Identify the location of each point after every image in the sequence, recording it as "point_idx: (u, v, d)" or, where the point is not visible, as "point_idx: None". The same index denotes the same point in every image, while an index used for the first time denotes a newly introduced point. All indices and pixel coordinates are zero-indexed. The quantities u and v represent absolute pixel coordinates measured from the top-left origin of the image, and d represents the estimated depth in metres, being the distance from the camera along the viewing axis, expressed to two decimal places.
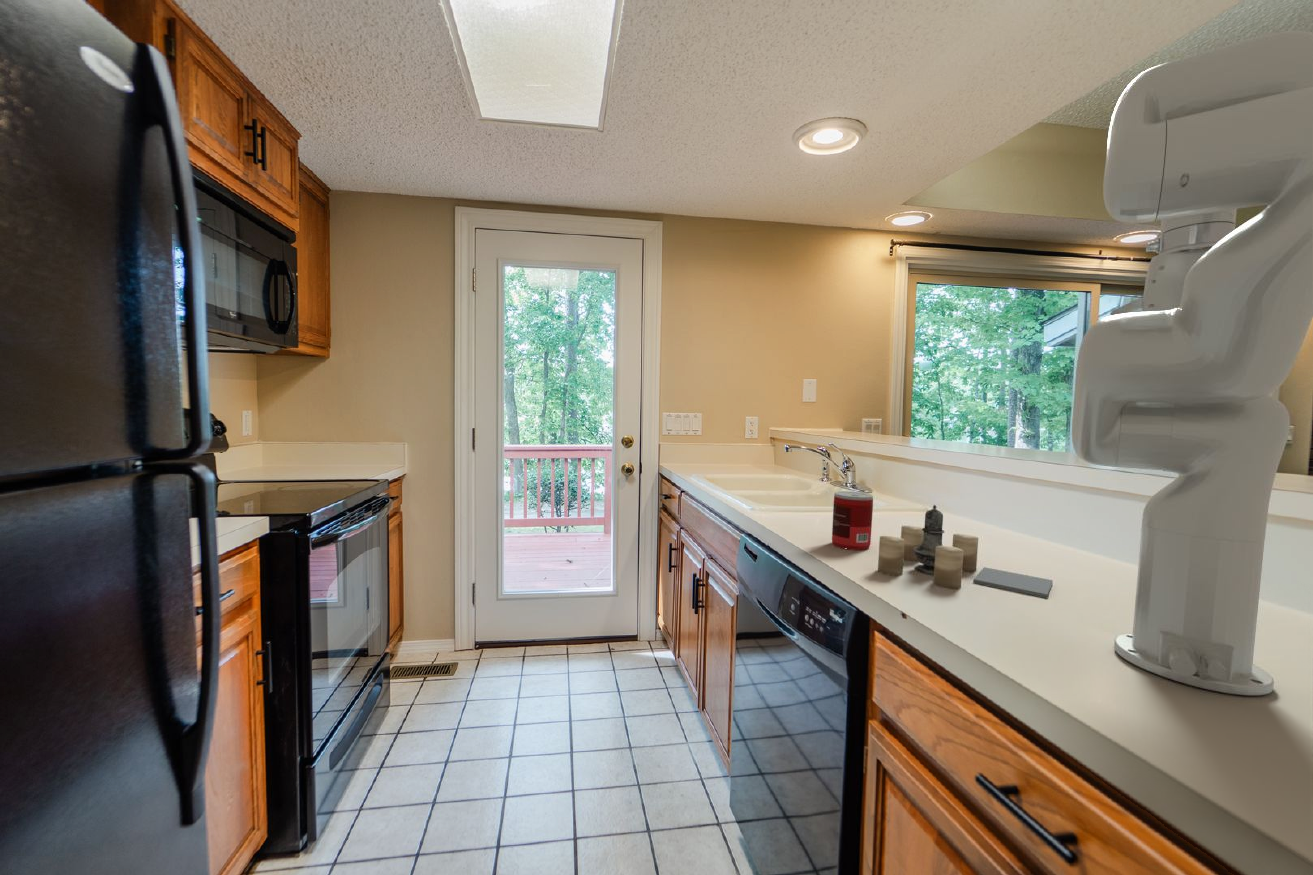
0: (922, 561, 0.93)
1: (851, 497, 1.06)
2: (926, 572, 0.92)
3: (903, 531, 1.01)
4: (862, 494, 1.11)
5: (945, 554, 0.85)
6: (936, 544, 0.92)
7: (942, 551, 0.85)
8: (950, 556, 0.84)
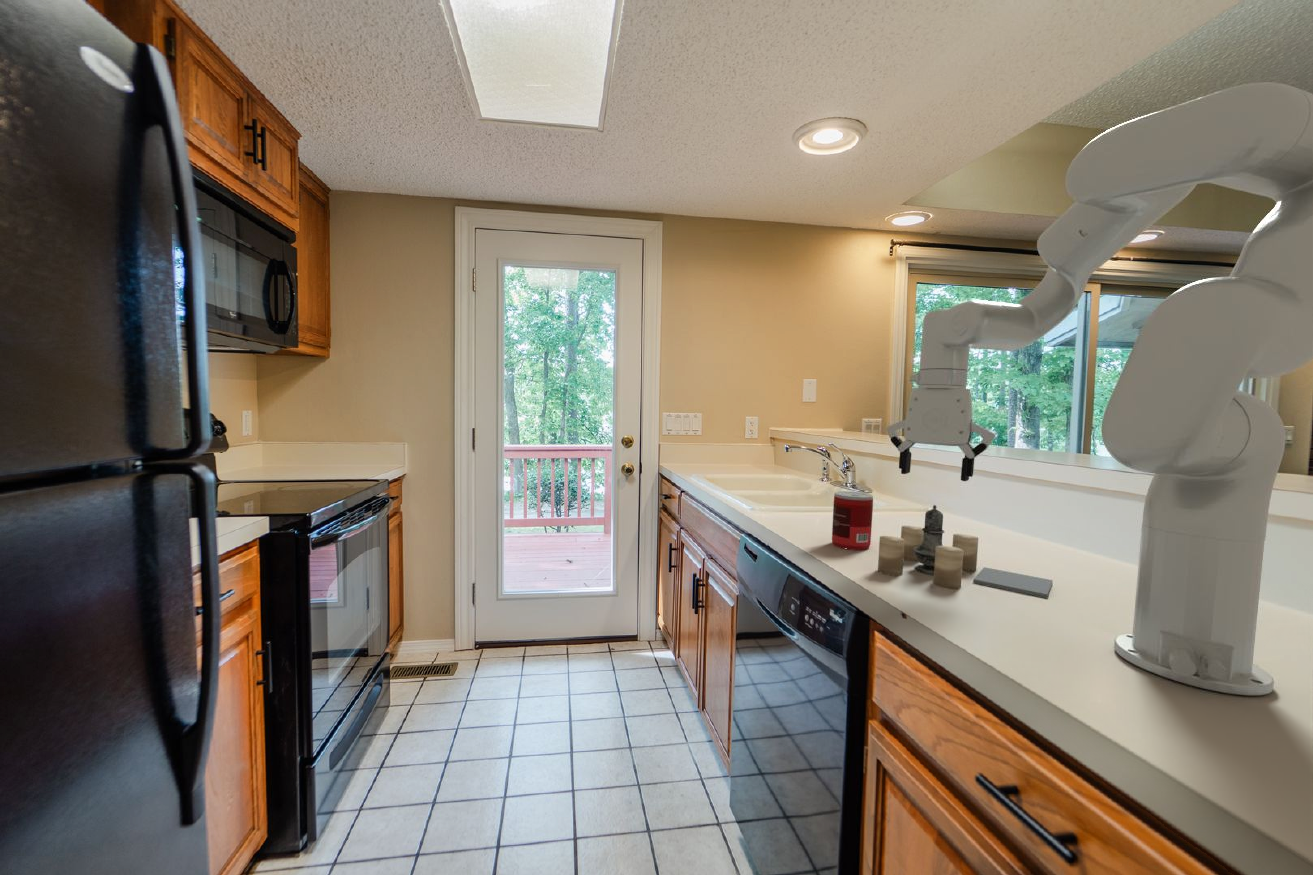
0: (922, 561, 0.93)
1: (851, 497, 1.06)
2: (926, 572, 0.92)
3: (903, 531, 1.01)
4: (862, 494, 1.11)
5: (945, 554, 0.85)
6: (937, 544, 0.92)
7: (942, 551, 0.85)
8: (950, 556, 0.84)
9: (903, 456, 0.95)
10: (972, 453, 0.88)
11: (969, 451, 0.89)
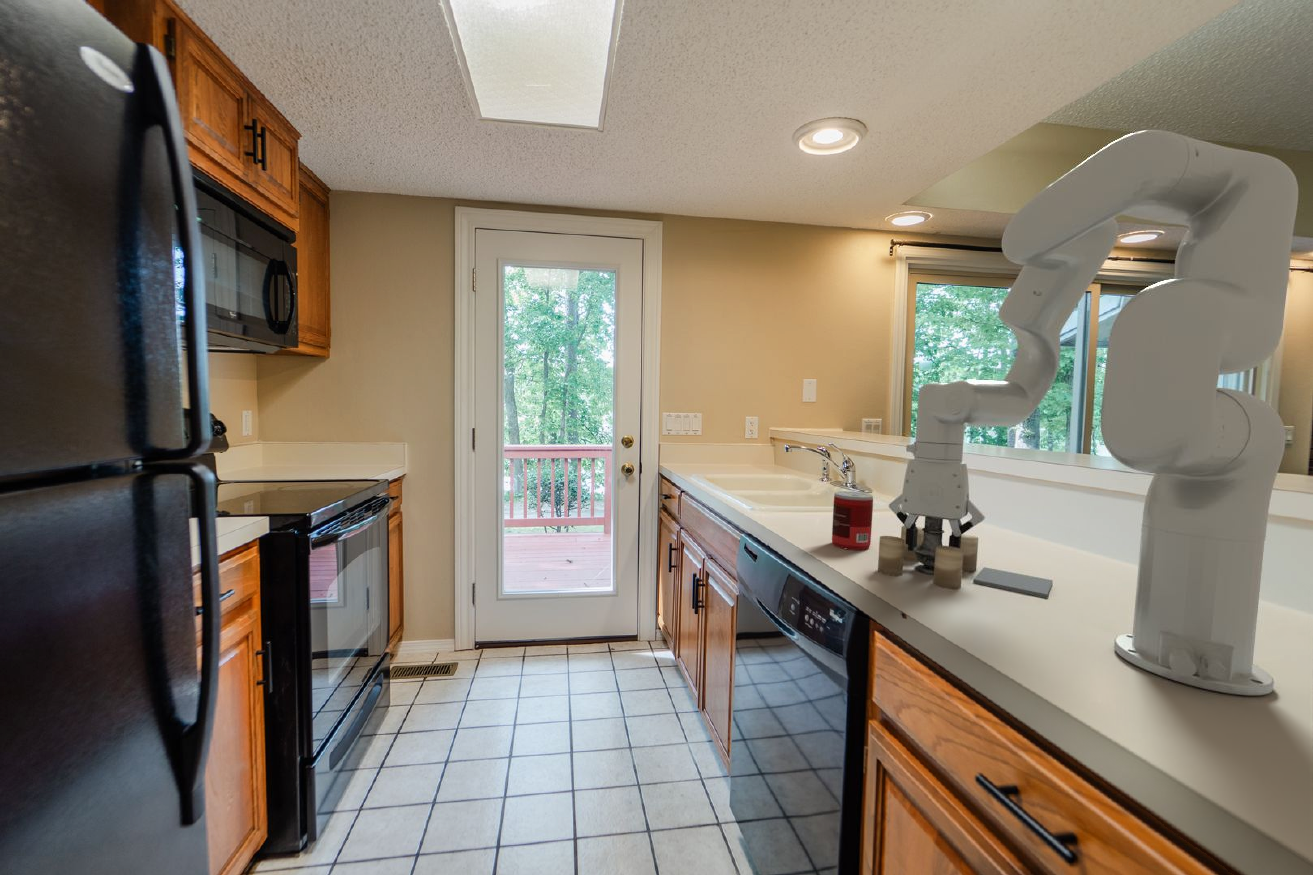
0: (922, 561, 0.93)
1: (851, 497, 1.06)
2: (926, 572, 0.92)
3: (903, 531, 1.01)
4: (862, 494, 1.11)
5: (945, 554, 0.85)
6: (937, 543, 0.92)
7: (942, 551, 0.85)
8: (950, 556, 0.84)
9: (909, 533, 0.95)
10: (959, 532, 0.90)
11: (956, 529, 0.90)
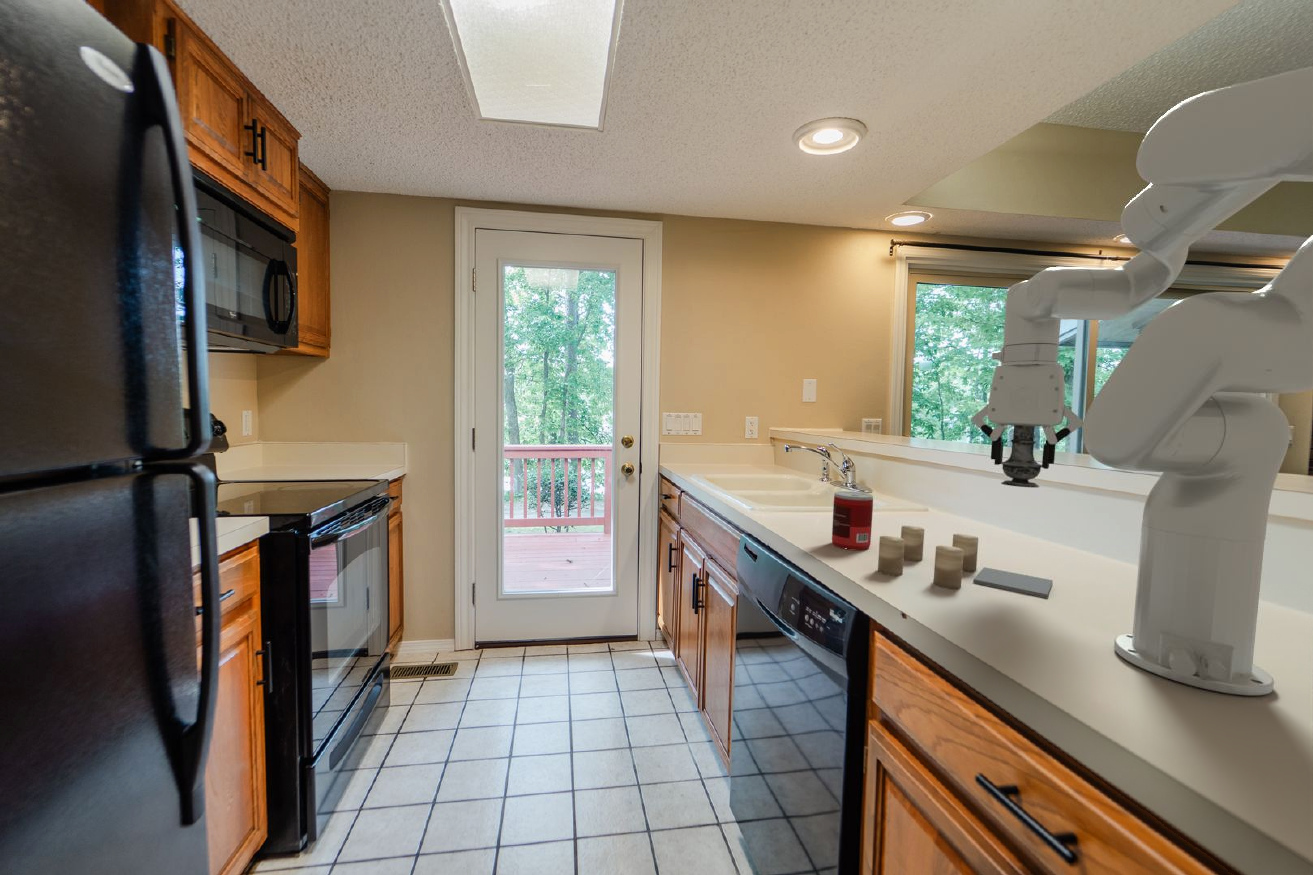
0: (1012, 473, 0.86)
1: (851, 497, 1.06)
2: (1017, 485, 0.86)
3: (903, 531, 1.01)
4: (862, 494, 1.11)
5: (945, 554, 0.85)
6: (1028, 454, 0.86)
7: (942, 551, 0.85)
8: (950, 556, 0.84)
9: (997, 445, 0.88)
10: (1055, 439, 0.83)
11: (1051, 437, 0.84)
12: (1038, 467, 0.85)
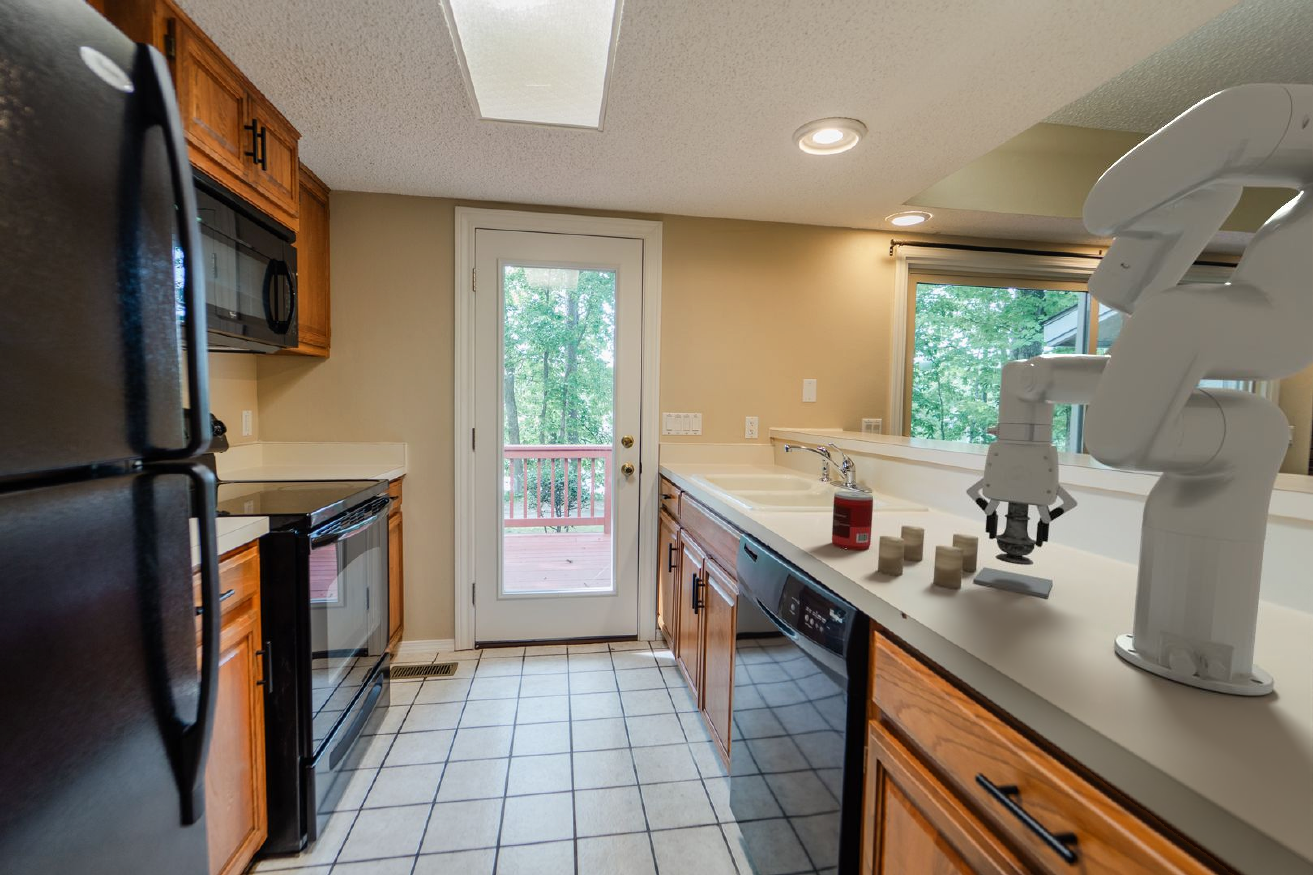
0: (1006, 549, 0.87)
1: (851, 497, 1.06)
2: (1011, 561, 0.87)
3: (903, 531, 1.01)
4: (862, 494, 1.11)
5: (945, 553, 0.85)
6: (1022, 531, 0.86)
7: (942, 550, 0.85)
8: (950, 555, 0.84)
9: (991, 520, 0.89)
10: (1049, 518, 0.84)
11: (1045, 516, 0.84)
12: (1032, 545, 0.86)
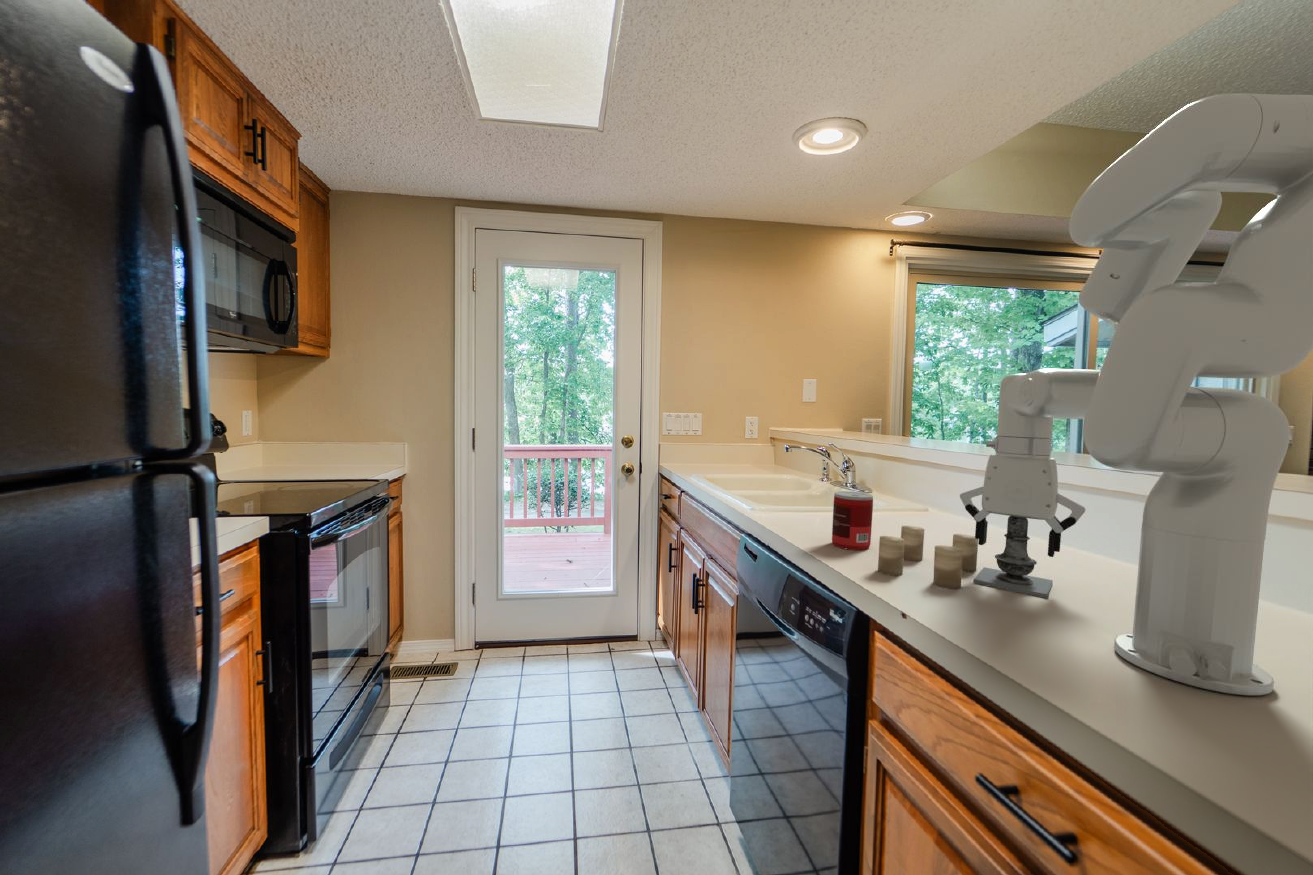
0: (1006, 569, 0.87)
1: (851, 497, 1.06)
2: (1011, 581, 0.86)
3: (903, 531, 1.01)
4: (862, 494, 1.11)
5: (944, 554, 0.85)
6: (1022, 551, 0.86)
7: (940, 551, 0.85)
8: (949, 556, 0.84)
9: (980, 526, 0.90)
10: (1060, 527, 0.83)
11: (1057, 525, 0.83)
12: (1032, 565, 0.85)
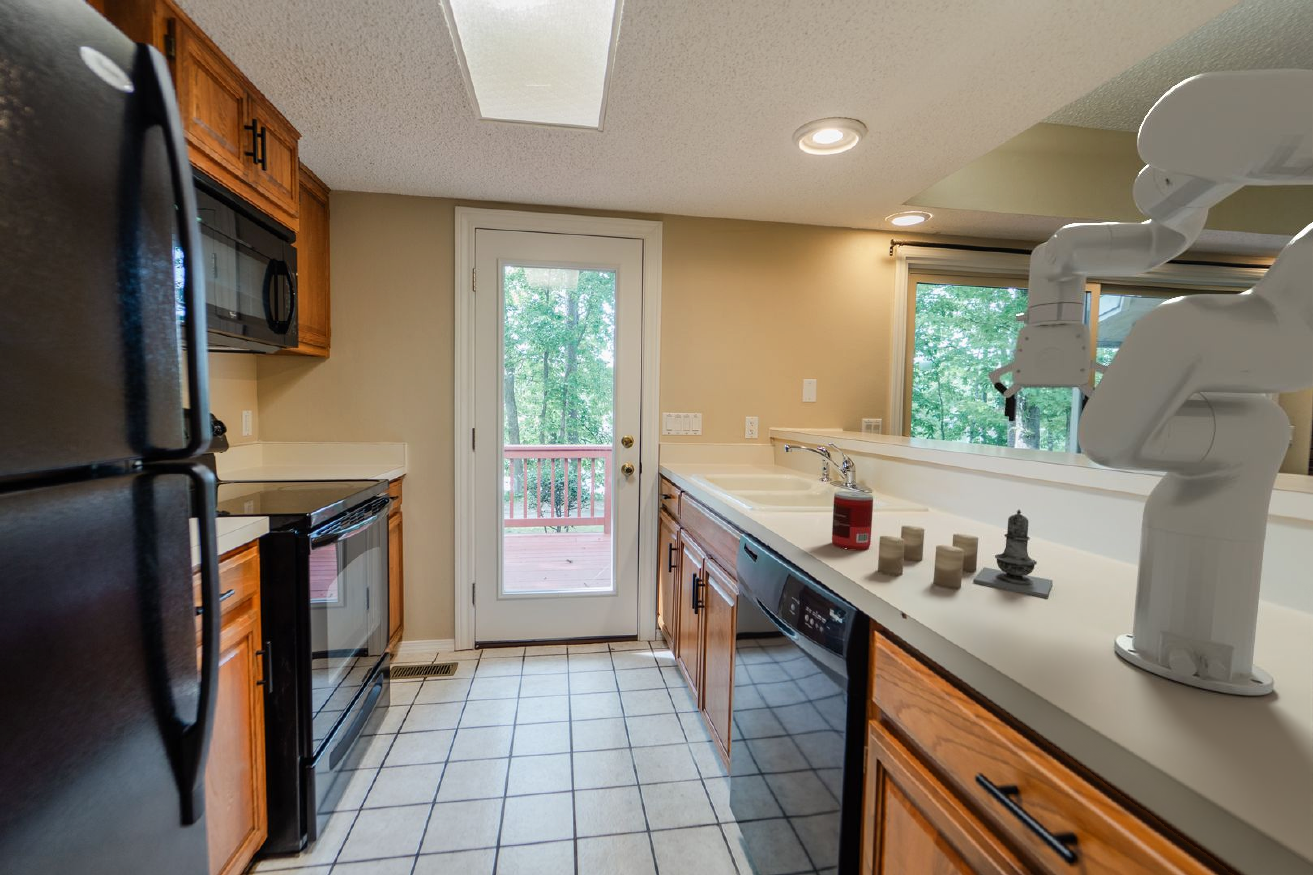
0: (1006, 569, 0.87)
1: (851, 497, 1.06)
2: (1011, 581, 0.86)
3: (903, 531, 1.01)
4: (862, 494, 1.11)
5: (944, 554, 0.85)
6: (1022, 551, 0.86)
7: (941, 551, 0.85)
8: (949, 556, 0.84)
9: (1011, 402, 0.89)
10: None
11: (1090, 391, 0.82)
12: (1032, 565, 0.85)
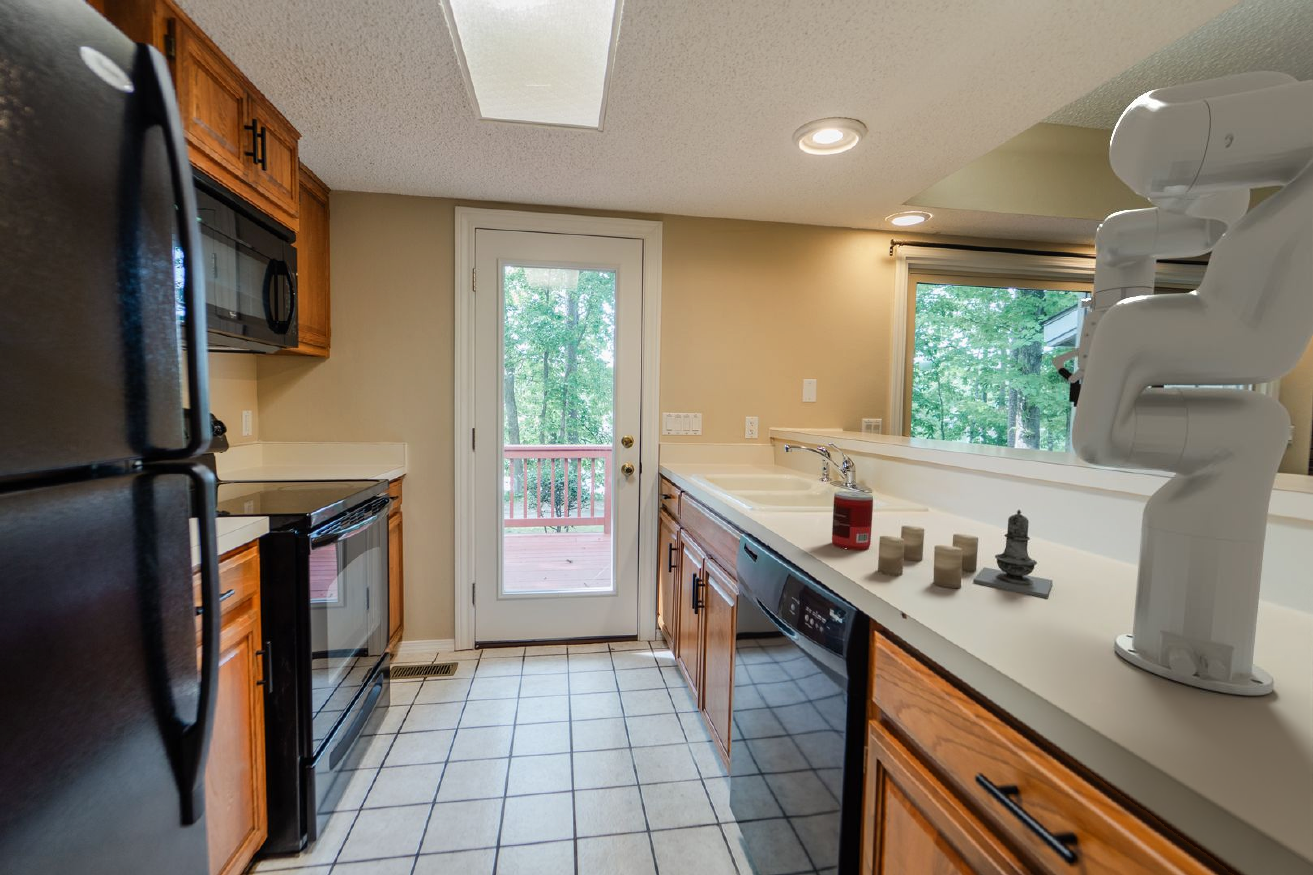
0: (1006, 569, 0.87)
1: (851, 497, 1.06)
2: (1011, 581, 0.86)
3: (903, 531, 1.01)
4: (862, 494, 1.11)
5: (942, 553, 0.85)
6: (1022, 551, 0.86)
7: (939, 550, 0.86)
8: (947, 554, 0.85)
9: (1076, 387, 0.89)
10: None
11: None
12: (1032, 565, 0.85)
